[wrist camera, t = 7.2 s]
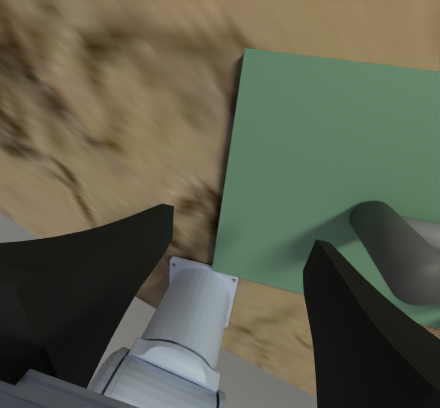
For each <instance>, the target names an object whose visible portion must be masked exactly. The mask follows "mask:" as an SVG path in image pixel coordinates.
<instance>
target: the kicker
mask: <svg viewBox="0 0 440 408" xmlns="http://www.w3.org/2000/svg"><path fill="white" fill-rule="evenodd" d="M350 224H351V226H352V228H353V229H354V231H355V232H356V234H357V236H358V237H359V239H360V241H361V242H362V244H363V246H364V247H365V249H366V251H367V252H368V254H369V256H370V257H371V259H372V261H373V262H374V264H375V266H376V267H377V269H378V271H379V272H380V274H381V276H382V277H383V279H384V281H385V282H386V284H387V286H388V287H389V289H390V291H391V292H392V294H393V295H394V296H395V297H396V298H397V299H398V300H400V301H402V302H404V303H407V304H411V305H417V306H426V305H433V304H437V303H440V253H439V252H440V223H435V222H430V221H425V220H420V219H415V218H410V217H405V216H400V215H399V214H398V213H397V212H395V211H394V210H393V209H392V208H391V207H390V206H389V205H388V204H386V203H384V202H381V201H368V202H365V203H362V204H360V205H359V206H357V207H356V208H355V209H354V210H353V212H352V213H351V216H350ZM438 251H439V252H438Z"/></svg>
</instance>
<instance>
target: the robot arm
mask: <svg viewBox="0 0 440 408" xmlns="http://www.w3.org/2000/svg"><path fill="white" fill-rule="evenodd" d="M173 213H174V206H171V205H166V204H160V205H157V206H155V207H152V208H150V209H147V210H145V211H142V212H140V213H137V214H135V215H132V216H130V217H127V218H124V219H121V220H119V221H116V222H113V223H110V224H107V225H104V226H100V227H97V228H93V229H89V230H85V231H81V232H76V233H71V234H66V235H62V236H56V237H50V238H43V239H36V240H28V241H20V242H7V243H0V408H229V407H228V404H227V401H226V396H225V394H224V392H223V391H221V390H219V389H218V384H219V379H220V374H219V373H217V372H215V370H216V365H217V361H218V356H219V351H220V346H221V341H222V337H223V332H224V328H226V327H227V326H228V322H229V318H230V313H231V309H232V305H233V300H234V296H235V292H236V287H237V283H238V279H239V278H238V277H234V276H230V275H226V274H223V273H219V272H215V271H212V266H211V265H207V264H203V263H199V262H196V261H192V260H188V259H184V258H180V257H176V256H173V257H171V259H170V275H169V287H168V289H167V291H166V293H165V295H164V296H163V298H162V300H161V302H160V304H159V306H158V308H157V309H156V312H155V313H154V315H153V317H152V319H151V321H150V322H149V324H148V326H147V328H146V330H145V332H144V333H143V335H142V337H141V338H137V339H136V341H135V343H134V344H133V346H132V348H131V350H130V349H127V348H125V347H123V348H121V349H120V350H118V351H116V352H114V353H112V354H111V355H110V356H109V357H108V358H107V359H106V361H105V362H104V364H103V365H102V366H101V368H100V369H99V371H98V372H97V374H96V375H95V377H94V379H93V380H92V381H91V383H90V385H89V382H90V380H91V378H92V376H93V374H94V372H95V370H96V368H97V366H98V364H99V362H100V360H101V358H102V355H103V354H104V352H105V350H106V348H107V346H108V344H109V342H110V340H111V338H112V336H113V334H114V332H115V331H116V329H117V327H118V325H119V323H120V321H121V319H122V317H123V316H124V314H125V312H126V310H127V309H128V307H129V305H130V303H131V302H132V300H133V298H134V296H135V295H136V293H137V292H138V290H139V289H140V287H141V286H142V284H143V283H144V282H145V280H146V279H147V277H148V276H149V275H150V273H151V272H152V270H153V269H154V268H155V266H156V265H157V263H158V262H159V261H160V259H161V258H162V256H163V255H164V253H165V251H166V250H167V248H168V246H169V244H170V242H171V240H172V235H173ZM234 279H235V280H234ZM303 290H304V296H305V302H306V308H307V313H308V318H309V324H310V329H311V334H312V341H313V348H314V360H315V373H316V389H317V408H440V339H438V338H437V337H436V336H434V335H433V334H432V333H430V332H429V331H427V330H426V329H425V328H423V327H422V326H421V325H419V324H418V323H417V322H415V321H414V320H413V319H411V318H410V317H409V316H408V315H406V314H405V313H404V312H403V311H401V310H400V309H399V308H398V307H396V306H395V305H394V304H393V303H392V302H390V301H389V300H388V299H387V298H386V297H385V296H383V295H382V294H381V293H380V292H379V291H378V290H377V289H376V288H375V287H374V286H373V285H372V284H370V283H369V282H368V281H367V280H366V279H365V278H364V277H363V276H362V275H361V274H360V273H359V272H358V271H357V270H356V269H355V268H354V267H353V266H352V265H351V264H350V263H349V262H348V261H347V259H346V258H345V257H344V256H343V255H342V254H341V253H340V252H339V251H338V250H337V249H336V248H335V247H334V246H333V245H332V244H331V243H330V242H326V241H322V240H317V239H316V241H315V243H314V245H313V248H312V250H311V252H310V255H309V257H308V259H307V262H306V264H305V266H304V269H303ZM88 385H89V386H88ZM87 387H88V388H87Z"/></svg>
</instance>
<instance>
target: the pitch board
mask: <svg viewBox="0 0 440 408" xmlns="http://www.w3.org/2000/svg"><path fill="white" fill-rule="evenodd" d="M368 201H381V202H384V203H386V204H388V205H389V206H390V207H391V208H392V209H393V210H394V211H395V212H397V213H398V214H399V215H400V216H405V217H410V218H415V219H420V220H425V221H430V222H435V223H440V72H439V71H430V70H422V69H414V68H405V67H397V66H389V65H380V64H372V63H364V62H355V61H347V60H339V59H330V58H322V57H314V56H305V55H297V54H289V53H280V52H272V51H264V50H255V49H247V48H245V51H244V58H243V65H242V71H241V78H240V85H239V91H238V98H237V105H236V112H235V118H234V125H233V132H232V138H231V145H230V152H229V158H228V165H227V172H226V179H225V185H224V192H223V199H222V205H221V212H220V219H219V225H218V232H217V239H216V246H215V252H214V259H213V266H212V271H215V272H219V273H223V274H226V275H230V276H234V277H238V278H242V279H246V280H250V281H254V282H258V283H262V284H265V285H269V286H273V287H277V288H281V289H285V290H289V291H293V292H297V293H301V294H304V290H303V269H304V266H305V264H306V262H307V259H308V257H309V255H310V252H311V250H312V248H313V245H314V243H315V241H316V239H317V240H322V241H326V242H330V243H331V244H332V245H333V246H334V247H335V248H336V249H337V250H338V251H339V252H340V253H341V254H342V255H343V256H344V257H345V258H346V259H347V261H348V262H349V263H350V264H351V265H352V266H353V267H354V268H355V269H356V270H357V271H358V272H359V273H360V274H361V275H362V276H363V277H364V278H365V279H366V280H367V281H368V282H369V283H370V284H372V285H373V286H374V287H375V288H376V289H377V290H378V291H379V292H380V293H381V294H382V295H383V296H385V297H386V298H387V299H388V300H389V301H390V302H392V303H393V304H394V305H395V306H396V307H398V308H399V309H400V310H401V311H403V312H404V313H405V314H406V315H408V316H409V317H410V318H411V319H413V320H414V321H415V322H417V323H418V324H421V325H425V326H429V327H433V328H437V329H440V303H437V304H433V305H426V306H417V305H411V304H407V303H404V302H402V301H400V300H398V299H397V298H396V297H395V296H394V295H393V294H392V292H391V291H390V289H389V287H388V286H387V284H386V282H385V281H384V279H383V277H382V276H381V274H380V272H379V271H378V269H377V267H376V266H375V264H374V262H373V261H372V259H371V257H370V256H369V254H368V252H367V251H366V249H365V247H364V246H363V244H362V242H361V241H360V239H359V237H358V236H357V234H356V232H355V231H354V229H353V228H352V226H351V224H350V216H351V213H352V212H353V210H354V209H355V208H356V207H357V206H359V205H360V204H362V203H365V202H368ZM438 252H439V251H438ZM439 253H440V252H439Z"/></svg>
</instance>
